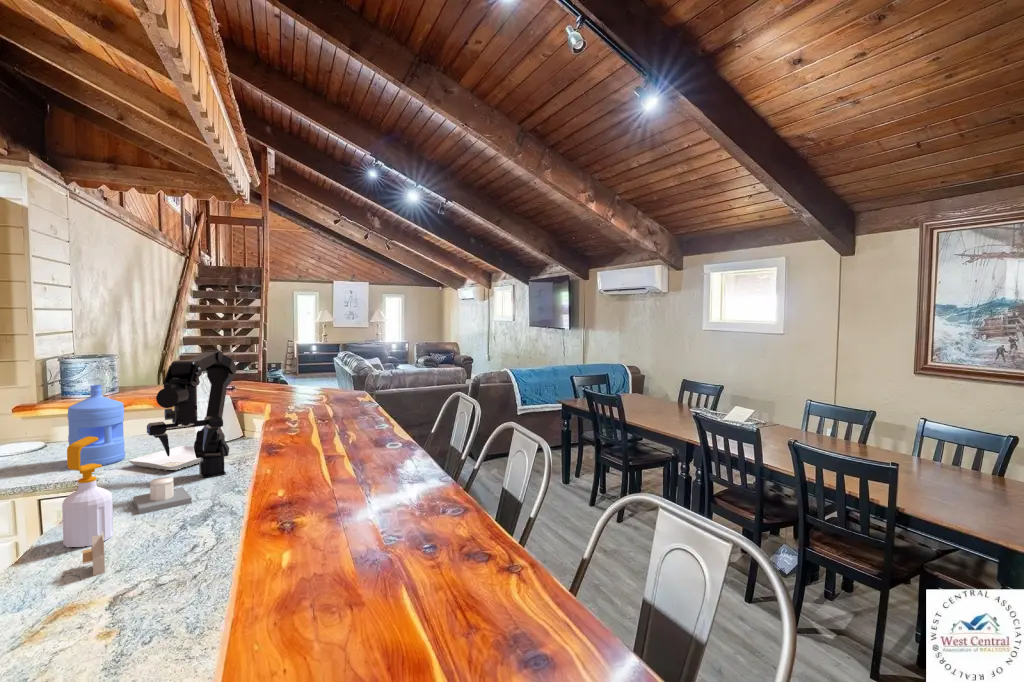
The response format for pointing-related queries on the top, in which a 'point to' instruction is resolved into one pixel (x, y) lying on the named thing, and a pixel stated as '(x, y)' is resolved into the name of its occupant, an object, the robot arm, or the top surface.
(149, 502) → the post base
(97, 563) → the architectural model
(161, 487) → the cap
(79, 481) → the soap bottle
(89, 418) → the water jug
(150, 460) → the salad plate
